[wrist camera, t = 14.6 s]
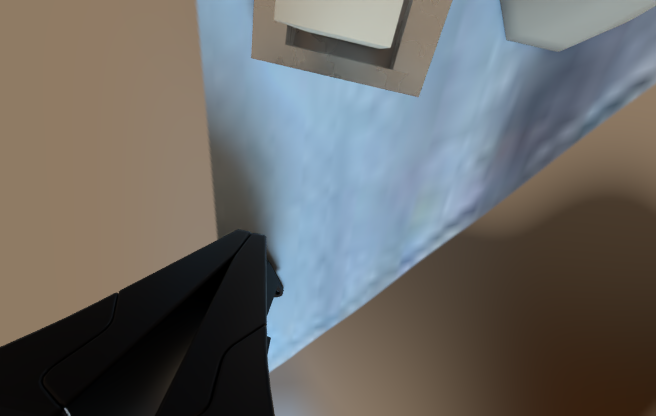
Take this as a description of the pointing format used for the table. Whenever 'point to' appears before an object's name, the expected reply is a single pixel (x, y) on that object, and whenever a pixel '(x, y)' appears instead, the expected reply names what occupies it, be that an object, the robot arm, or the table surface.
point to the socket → (356, 48)
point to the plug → (343, 19)
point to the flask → (566, 20)
